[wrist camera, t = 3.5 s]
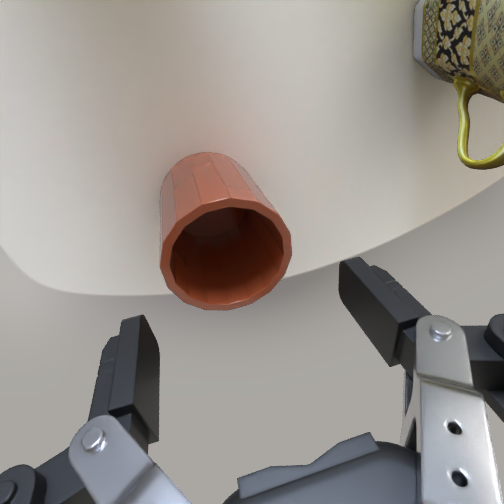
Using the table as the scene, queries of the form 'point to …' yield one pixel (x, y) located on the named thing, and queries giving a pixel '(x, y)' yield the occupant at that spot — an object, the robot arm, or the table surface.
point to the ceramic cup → (464, 56)
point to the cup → (219, 234)
